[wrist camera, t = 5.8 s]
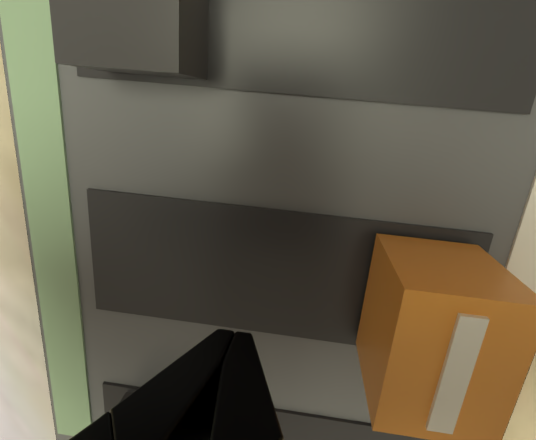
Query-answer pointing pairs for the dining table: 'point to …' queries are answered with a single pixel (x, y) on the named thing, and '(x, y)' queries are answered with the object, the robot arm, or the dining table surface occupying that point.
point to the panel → (256, 178)
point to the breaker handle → (443, 340)
